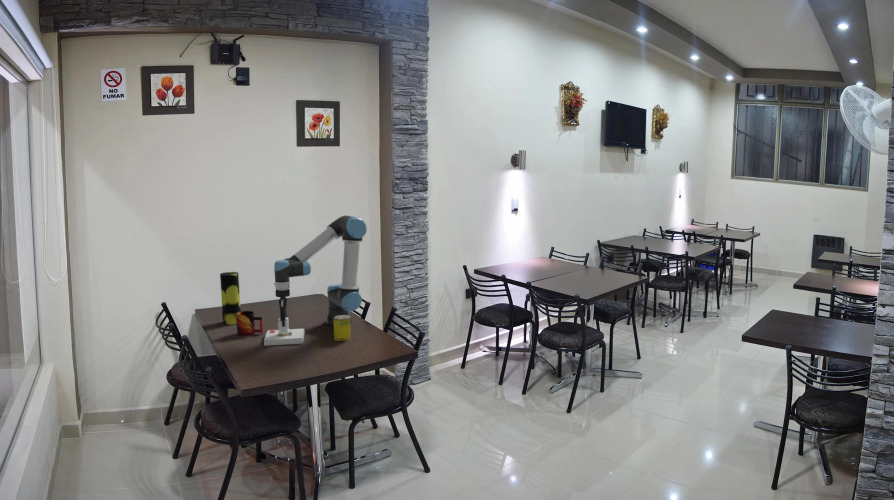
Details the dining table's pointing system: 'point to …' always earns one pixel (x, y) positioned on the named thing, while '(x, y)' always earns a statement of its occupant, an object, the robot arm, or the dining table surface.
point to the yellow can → (342, 328)
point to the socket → (284, 337)
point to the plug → (286, 327)
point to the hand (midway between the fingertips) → (284, 330)
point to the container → (230, 297)
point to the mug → (247, 323)
